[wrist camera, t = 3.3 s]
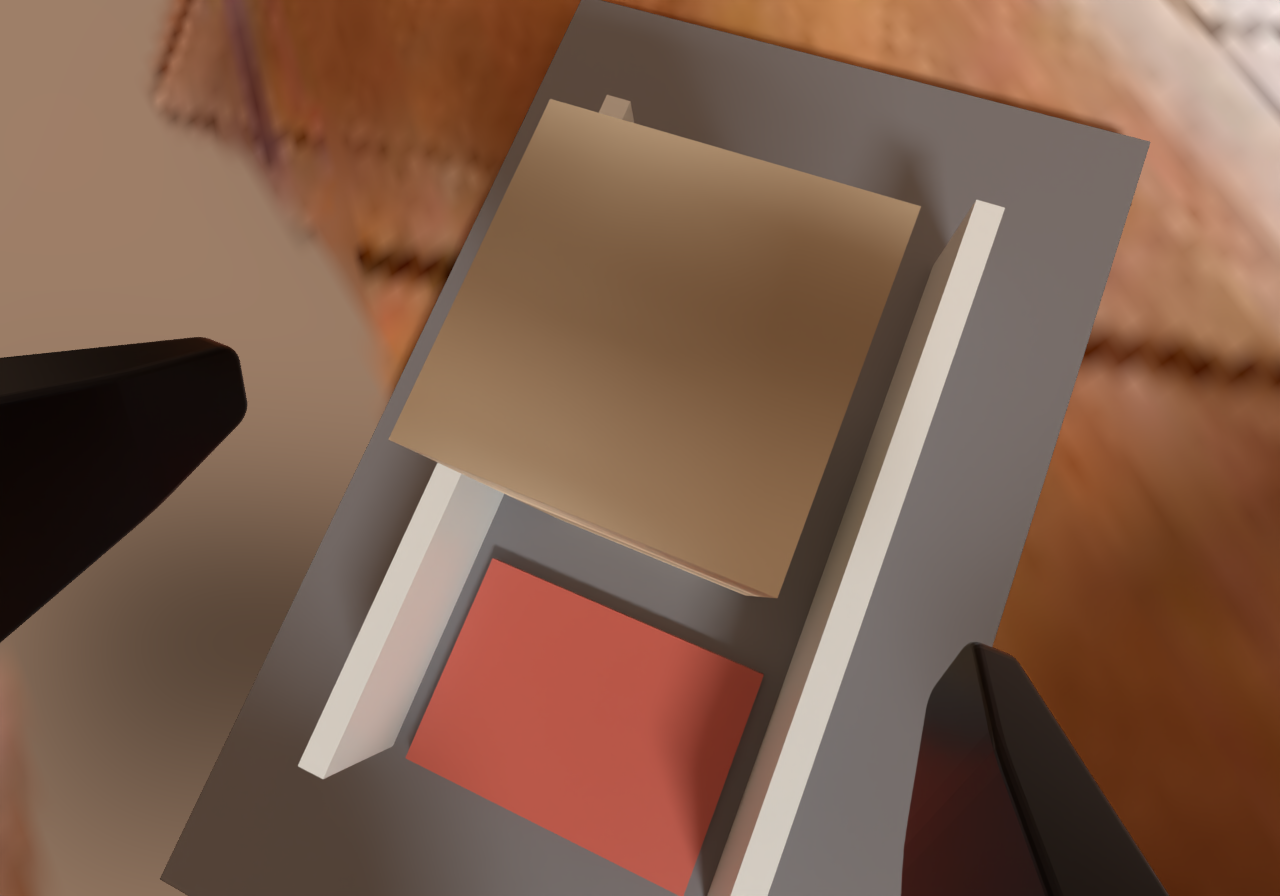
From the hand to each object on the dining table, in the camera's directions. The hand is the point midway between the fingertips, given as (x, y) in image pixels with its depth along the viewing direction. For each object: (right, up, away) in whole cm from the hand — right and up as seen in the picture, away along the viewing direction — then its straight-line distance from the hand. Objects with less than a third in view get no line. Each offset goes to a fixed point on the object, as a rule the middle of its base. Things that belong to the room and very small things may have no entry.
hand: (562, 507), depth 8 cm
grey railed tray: (+2, -1, +10) cm, 10 cm away
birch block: (+2, 0, +9) cm, 10 cm away
